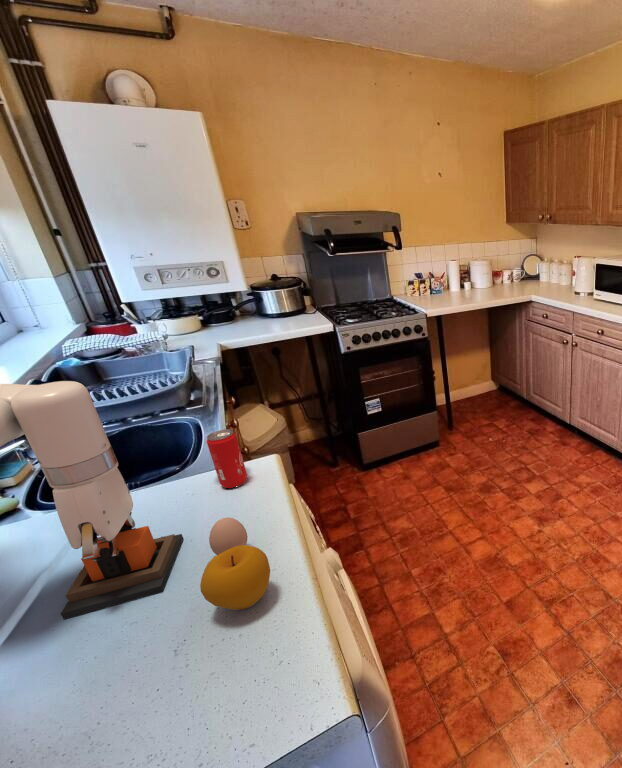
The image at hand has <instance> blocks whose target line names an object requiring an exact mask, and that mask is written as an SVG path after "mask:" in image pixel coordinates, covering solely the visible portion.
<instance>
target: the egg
mask: <svg viewBox="0 0 622 768" xmlns="http://www.w3.org/2000/svg"><path fill="white" fill-rule="evenodd" d="M208 543H209V547H210V550H211V551H212V552H213V553H214V555H215V556H217V555H219V554H220V553H222V552H224V551H226V550H228V549H231V548H233V547H236V546H241V545H247V543H248V532H247V529H246V528H245V526H244V525H243V523H241V521H239V520H238V519H235V518H233V517H222V518H219V520H217V521H215V523H214V524H213V525H212V526H211V529H210V532H209V537H208Z"/></svg>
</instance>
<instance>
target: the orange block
mask: <svg viewBox="0 0 622 768" xmlns="http://www.w3.org/2000/svg"><path fill="white" fill-rule="evenodd" d="M135 528H136V529H133V528H132V530H128V531H124V532H119V533H118V534H117V535H116V540H117V544H118V548H119V552H120V551H123V552H124V554H125V556H126V558H127V561H128V563H129V565H130V567H131V571H135V570H139V569H142V568H146V567H148V565H149V563H150V561H151V559H152V557H153V554H154V552H155V550H156V548H157V546H156V544H155V541H154V539H155V538H154V537H153V534H152V532H151V528H150V527H149V525H146V526H141V527H135ZM103 537H104V536H103ZM98 538H102V537H101V536H97V539H98ZM98 545H99V548H110V547H109V543H108V542H106V543H102V544H98ZM81 561H82V564H83V567H84V566H85V568H86V570H87V572H88V574H89V576H90V578H91V580H92V581H97V580H101V579H104V576H103V574H102V572H101V570H100V568H99V566H98V564H97V562H94V561H93V560H92V559H86V560H84V559H83V557H81ZM131 571H130V572H131Z"/></svg>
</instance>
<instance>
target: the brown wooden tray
mask: <svg viewBox="0 0 622 768" xmlns="http://www.w3.org/2000/svg"><path fill="white" fill-rule="evenodd" d="M153 539H154V541H155V544H156V546H157V548H156V550H155V552H154V554H153V557H152V559H151V561H150V563H149V565H148V567H146V568H142V569H139V570H135V571H131V572H130V573H129V574H125V575H121V576H118V577H114V578H110V579H105V578H104V579H101V580H97V581H92V580H91V578H90V576H89V574H88V572H87V570H86V568H85V566H84V565H83V567H82V569H81V570H80V571H79V573H78V575H77V576H76V578H75V580H74V581H73V583H71V586H70V587H69V589H68V590H67V592H66V594H65V598H66V600H67V603H66V604H65V606H64V607H63V609H62V610H61V611H60V616H61V618H62V619H63V620H67V619H71V618H74V617H78V616H81V615H85V614H88V613H93V612H95V611H100V610H102V609H106V608H109V607H114V606H117V605H120V604H124V603H127V602H131V601H135V600H138V599H143V598H146V597H149V596H153V595H156V594H159V593H163V592H164V590H165V588H166V585H167V583H168V580H169V577H170V575H171V572H172V570H173V567H174V565H175V562H176V559H177V557H178V554H179V551H180V549H181V547H182V545H183V542H184V536H183V534H182V533H179V534H174V533H173V534H169V535H165V536H160V537H155V538H153Z"/></svg>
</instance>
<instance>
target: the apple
mask: <svg viewBox="0 0 622 768" xmlns="http://www.w3.org/2000/svg"><path fill="white" fill-rule="evenodd" d="M270 577H271V567H270V562H269V559H268V556H267V554H266V553H265V552H264V551H263V550H262V549H260V548H259V547H256V546H252V545H247V544H246V545H241V546H236V547H233V548H231V549H228V550H226V551H224V552H222V553H220V554H219V555H215V556H213V557H212V559H211V560H210V561H209V562H207V564H206V565H205V568H204V570H203V573H202V576H201V579H200V593H201V594H202V596H203V598H204V599H205V601H207V602H209V603H210V604H211V605H213V606H214V607H219V608H223V609H226V610H227V609H228V610H233V611H234V610H236V611H237V610H238V611H240V610H245V609H248V608H251V607H252V606H254V605H255V604H256V603H257V602H258V601H260V600H261V598H262V597H263V596H264V595H265V593H266V591H267V588H268V586H269V582H270V579H271V578H270Z"/></svg>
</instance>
